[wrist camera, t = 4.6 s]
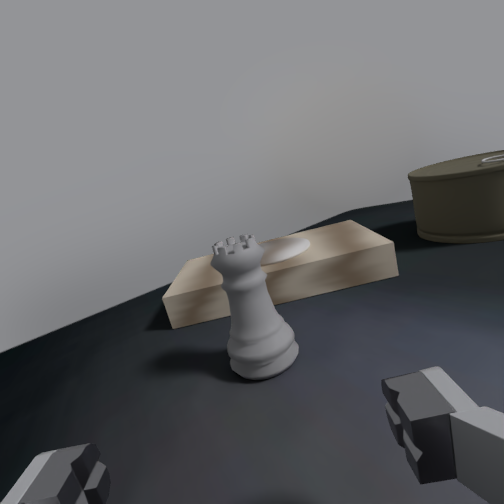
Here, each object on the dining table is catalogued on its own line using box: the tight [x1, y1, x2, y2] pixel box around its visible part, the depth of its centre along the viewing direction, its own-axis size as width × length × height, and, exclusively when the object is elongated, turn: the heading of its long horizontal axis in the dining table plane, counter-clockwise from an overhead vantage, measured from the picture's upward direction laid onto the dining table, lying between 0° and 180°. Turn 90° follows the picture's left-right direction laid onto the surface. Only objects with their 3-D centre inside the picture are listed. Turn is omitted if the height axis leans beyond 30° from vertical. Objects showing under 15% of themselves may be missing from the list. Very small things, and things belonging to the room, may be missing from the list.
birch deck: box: [162, 220, 399, 329], centre depth 34 cm, size 20×12×3 cm, turn 91°
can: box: [408, 150, 504, 244], centre depth 34 cm, size 12×12×7 cm
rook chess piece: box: [210, 234, 299, 380], centre depth 20 cm, size 4×4×8 cm
